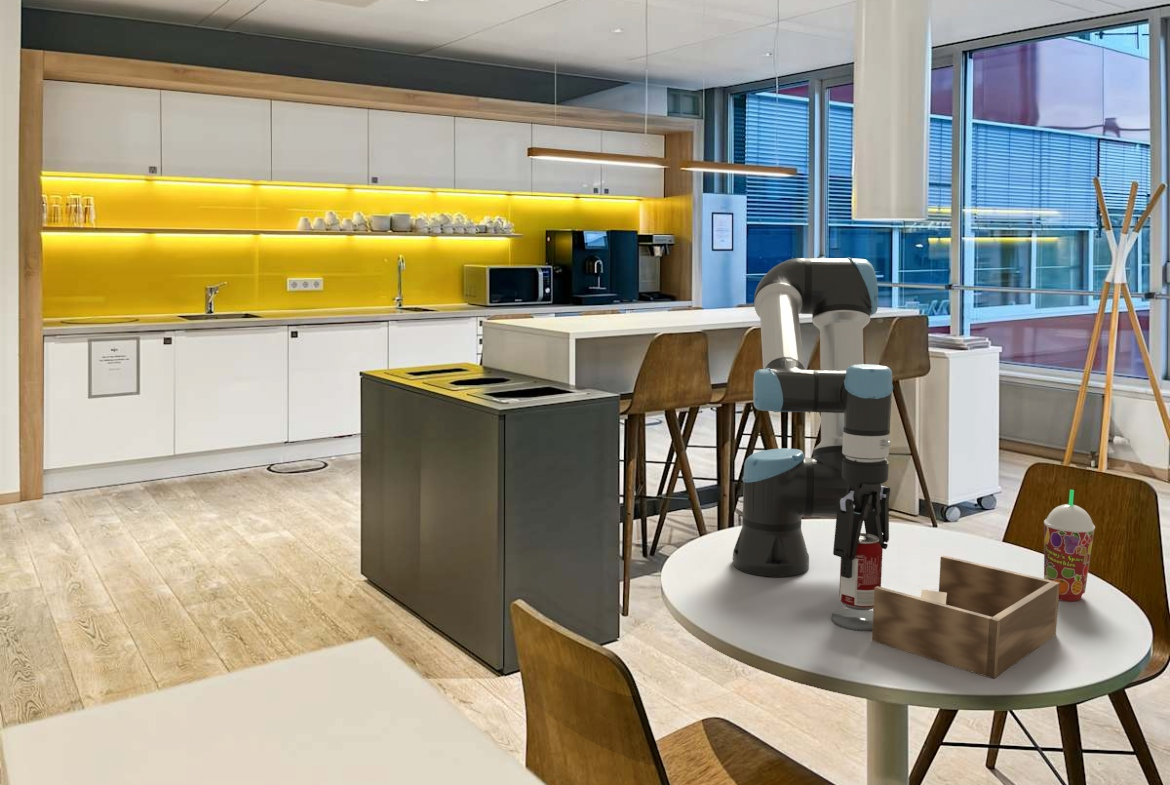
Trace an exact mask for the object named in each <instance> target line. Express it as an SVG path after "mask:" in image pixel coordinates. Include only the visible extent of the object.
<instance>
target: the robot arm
mask: <svg viewBox="0 0 1170 785" xmlns="http://www.w3.org/2000/svg"><path fill="white" fill-rule="evenodd" d="M877 279H878V278H877V275H876V270H875V268H874V266H873V264H872V263H871V262H870V261H869V260H867V259H864V258H852V257H850V256H849V257H845V258H844V257H843V258H841V257H839V258H838V257H837V258H836V257H835V258H834V257H833V258H831V257H830V258H827V257H825V258H824V257H823V258H821V257H820V258H819V257H817V258H810V257H809V258H804V257H801V258H800V257H796V258H792V259H791V258H790V259H787V260H785V261H783V262H780V263H778V264H777V265H775V266H773V267H772V268H771V269H770V270H768V272H767V273H766V274H764V275H763V277H762V278H761V280H760V281H759V283H758V284H757V286H756V289H755V291H754V296H753V297H754V298H753V299H754V300H753V301H754V303H753V304H754V310H755V313H756V315H757V316H758V317H759V320H760V333H761V334H760V335H761V336H760V337H761V352H762V368H761V369H760V368H759V369H756V370H755V371H754V374H753V387H752V388H753V390H752V394H753V395H752V396H753V399H752V400H753V403H752V404H753V406H754V408H755V409H756V410H757V411H766V412H774V413H820V442H819V444H817V445H816V446H815V447H814V448H813V450H812V451H813V452H812V453H813V454H812V455H813V456H812V457H805V454H804V452H803V451H802V450H801V449H797V448H788V447H787V448H785V447H782V448H771V449H767V450H766V449H765V450H761V451H757V452H754V453H751V454H750V455H749V456H748V457H747V458H746V459H745V461H744V464H743V466H744V467H743V476H742V478H741V479H742V482H743V492H742V493H743V497H742V522H741V523H742V525H741V529H740V532H739V534H738V538H737V540H736V543H735V546H734V549H733V550H732V551H733V552H732V565H733V566H734V567H735V568H736V569H737V570H740V572H741V571H742V572H744V573H748V574H751V575H755V576H762V577H773V578H774V577H775V578H782V577H783V578H784V577H794V576H797V575H802V574H803V573H805V572H807V571H808V570H809V568H810V554H809V553H808V549H807V544H806V541H805V538H804V535H803V531H802V517H815V518H817V517H818V518H836V520H835V527H834V528H835V529H834V540H833V552H832V554H833V556H836V557H839V558H840V565H841V582H840V581H839V591H840V594H844V595H847V596H851V597H856V596H857V577H858V559H857V558H855V556H856V551H857V547H858V542H859V537H860V533H862V527H863V525H864V530H865V533H867V534H872V535H875V536H877V537H878V538H879V541H878V542H879V544H880V545H881V547H882V549H883V550H887V548H888V546H889V545H888V543H889V540H890V503H889V502H890V501H889V500H890V496H891V495H890V494H891V488H890V486H884V485H883V484H885V483H886V482H888V480H889V467H890V466H889V465H890V464H889V463H890V462H889V461H888V459H887V458H888V457H889V455H890V453H889V452H890V446H891V443H892V442H891V441H890V436H891V435H890V433H891V428H890V427H891V416H892V415H891V414H892V413H891V412H892V398H893V391H894V385H893V371H892V369H891V368H890V367H888V366H886V365H881V364H873V363H871V364H867V363H865V362H864V328H865V327H866V326H867V325H868V324H869V323H870V321H871V316H873V315H875V314H876V313H877V311H878V307H879V287H878V280H877ZM799 314H801V315H812V324H813V325H814V327H816V328H817V329H818V330H819V354H820V355H819V358H820V360H819V362H820V365H819V366H820V367H819V368H820V369H806V365H805V356H804V348H803V341H802V332H801V324H800V316H799ZM864 363H865V364H864Z"/></svg>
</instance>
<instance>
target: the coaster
mask: <svg viewBox="0 0 1170 785" xmlns="http://www.w3.org/2000/svg"><path fill="white" fill-rule="evenodd" d="M830 618H831V621H832V622H833V623H834V625H837V626H839V627H840V628H844V629H847V630H851V631H859V632H872V631H873V610H872V609H871V610H855V609H851V608H848V607H846V608H840V609H837V610H835V611H833V612H832V613H831V616H830Z"/></svg>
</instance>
